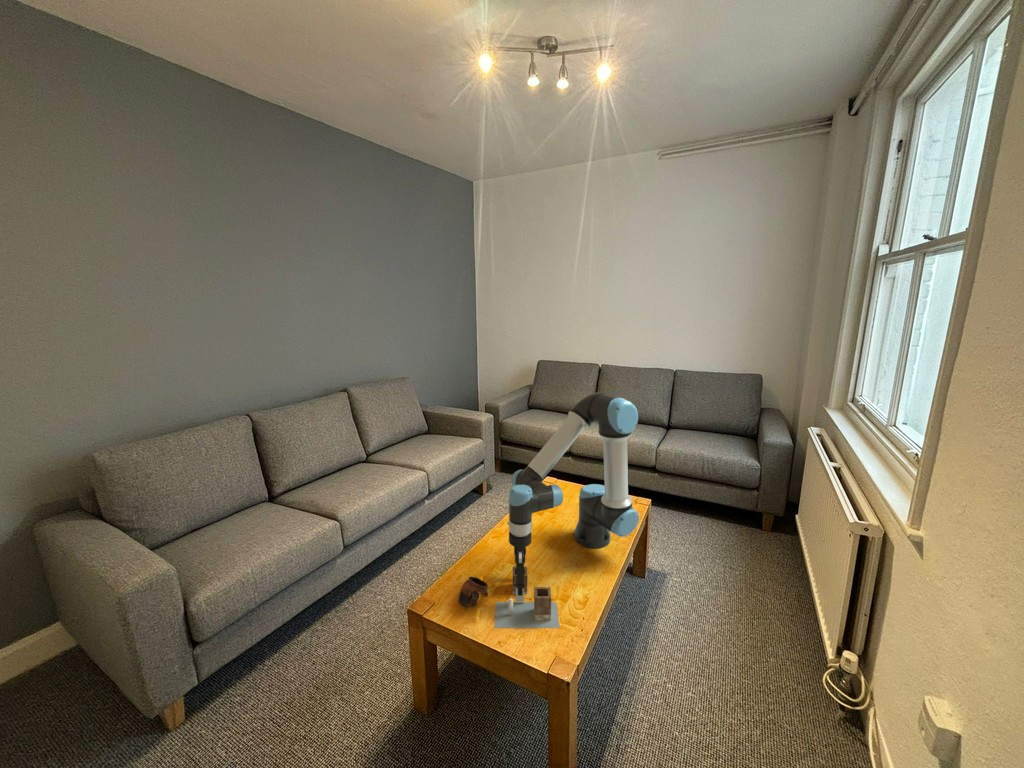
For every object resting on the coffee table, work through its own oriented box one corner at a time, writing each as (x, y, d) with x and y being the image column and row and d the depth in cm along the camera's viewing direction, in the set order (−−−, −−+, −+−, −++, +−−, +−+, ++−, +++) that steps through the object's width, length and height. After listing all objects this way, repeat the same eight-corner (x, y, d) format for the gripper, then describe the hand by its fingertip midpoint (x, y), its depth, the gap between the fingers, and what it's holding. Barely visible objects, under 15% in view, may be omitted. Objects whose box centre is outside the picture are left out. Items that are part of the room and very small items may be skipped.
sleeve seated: (549, 608, 135) (549, 587, 134) (550, 620, 130) (551, 598, 129) (534, 608, 135) (534, 587, 134) (534, 620, 130) (535, 598, 129)
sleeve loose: (526, 586, 147) (526, 566, 146) (527, 596, 142) (527, 576, 141) (512, 586, 147) (512, 566, 146) (512, 596, 142) (512, 576, 141)
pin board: (556, 605, 138) (556, 587, 137) (559, 631, 128) (560, 611, 126) (495, 605, 138) (495, 586, 137) (494, 631, 128) (494, 611, 126)
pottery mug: (454, 595, 144) (464, 571, 145) (479, 603, 146) (489, 580, 147) (458, 611, 132) (468, 586, 133) (485, 620, 134) (495, 595, 135)
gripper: (509, 514, 151) (508, 570, 155) (508, 550, 128) (508, 615, 132) (529, 514, 151) (529, 570, 155) (533, 551, 128) (532, 615, 132)
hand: (519, 591), depth 143 cm, fingers open, 10 cm apart
